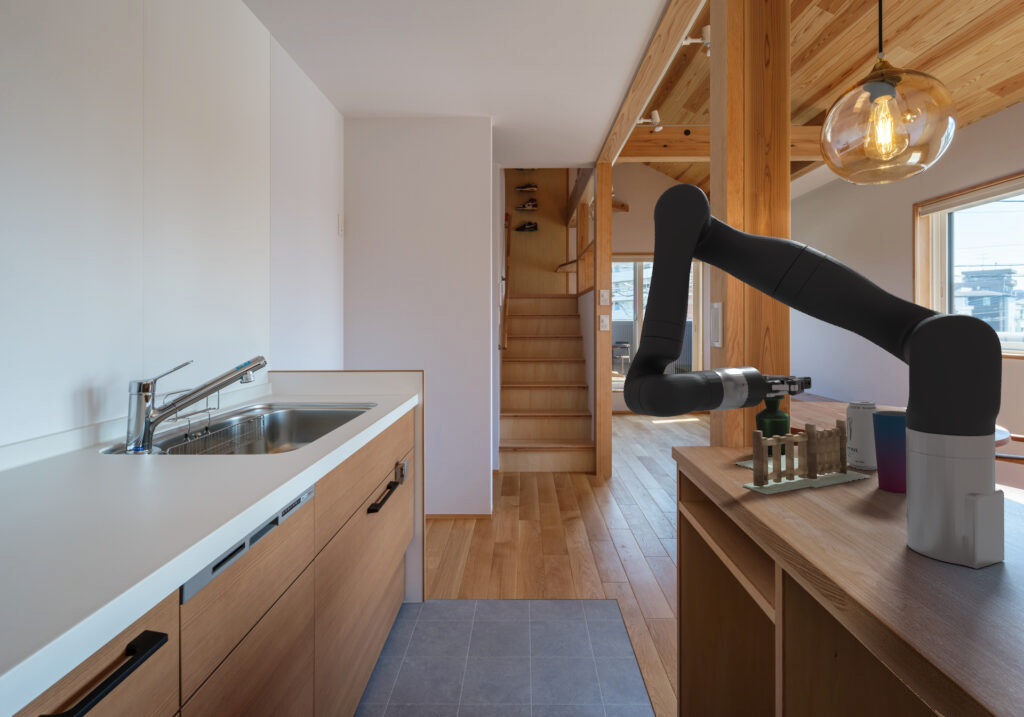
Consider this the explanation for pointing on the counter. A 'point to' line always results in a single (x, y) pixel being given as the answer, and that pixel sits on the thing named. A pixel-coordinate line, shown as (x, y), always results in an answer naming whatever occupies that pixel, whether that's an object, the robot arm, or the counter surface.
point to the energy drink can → (861, 435)
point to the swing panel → (778, 457)
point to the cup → (890, 449)
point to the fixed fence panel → (826, 449)
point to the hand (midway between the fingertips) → (801, 381)
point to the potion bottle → (773, 421)
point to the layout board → (799, 482)
